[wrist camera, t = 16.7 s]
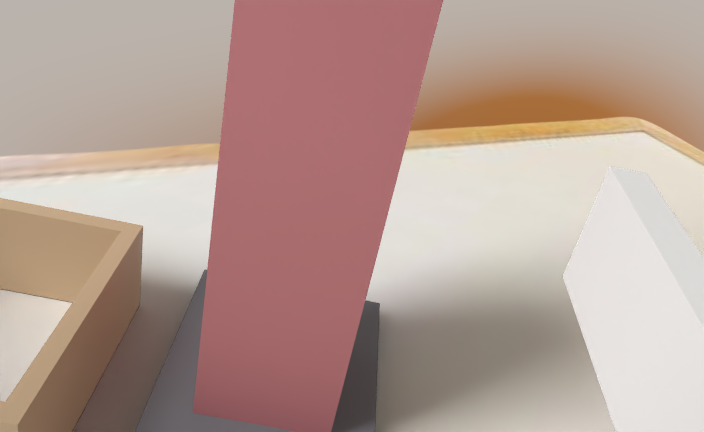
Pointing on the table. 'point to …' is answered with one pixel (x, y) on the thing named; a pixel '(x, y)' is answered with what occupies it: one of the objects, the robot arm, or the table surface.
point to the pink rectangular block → (303, 198)
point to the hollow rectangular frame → (82, 316)
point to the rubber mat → (190, 428)
